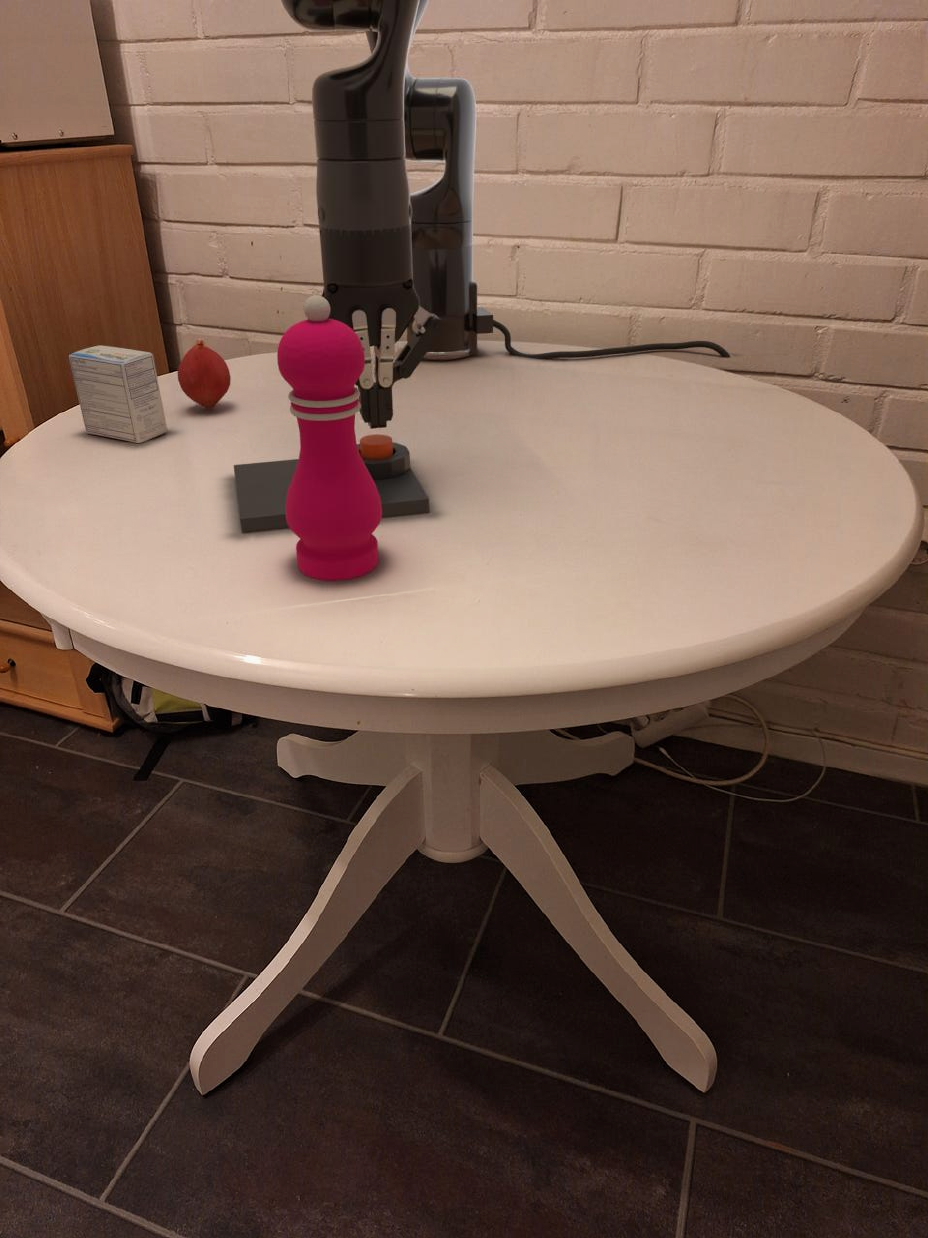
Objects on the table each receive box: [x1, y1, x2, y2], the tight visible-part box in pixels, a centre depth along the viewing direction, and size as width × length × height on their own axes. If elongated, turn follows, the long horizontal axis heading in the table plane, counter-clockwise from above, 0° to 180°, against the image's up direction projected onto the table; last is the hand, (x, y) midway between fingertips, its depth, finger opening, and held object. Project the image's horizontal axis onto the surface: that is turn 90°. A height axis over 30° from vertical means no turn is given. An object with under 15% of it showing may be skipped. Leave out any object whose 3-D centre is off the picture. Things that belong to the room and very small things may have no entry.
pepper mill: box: [276, 294, 383, 582], centre depth 66 cm, size 7×7×20 cm
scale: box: [233, 441, 430, 534], centre depth 82 cm, size 16×13×3 cm
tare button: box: [359, 433, 394, 459], centre depth 84 cm, size 3×3×2 cm
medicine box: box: [68, 344, 168, 444], centre depth 96 cm, size 8×4×9 cm, turn 62°
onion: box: [177, 338, 232, 410], centre depth 104 cm, size 6×6×8 cm
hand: (376, 425), depth 83 cm, fingers closed
